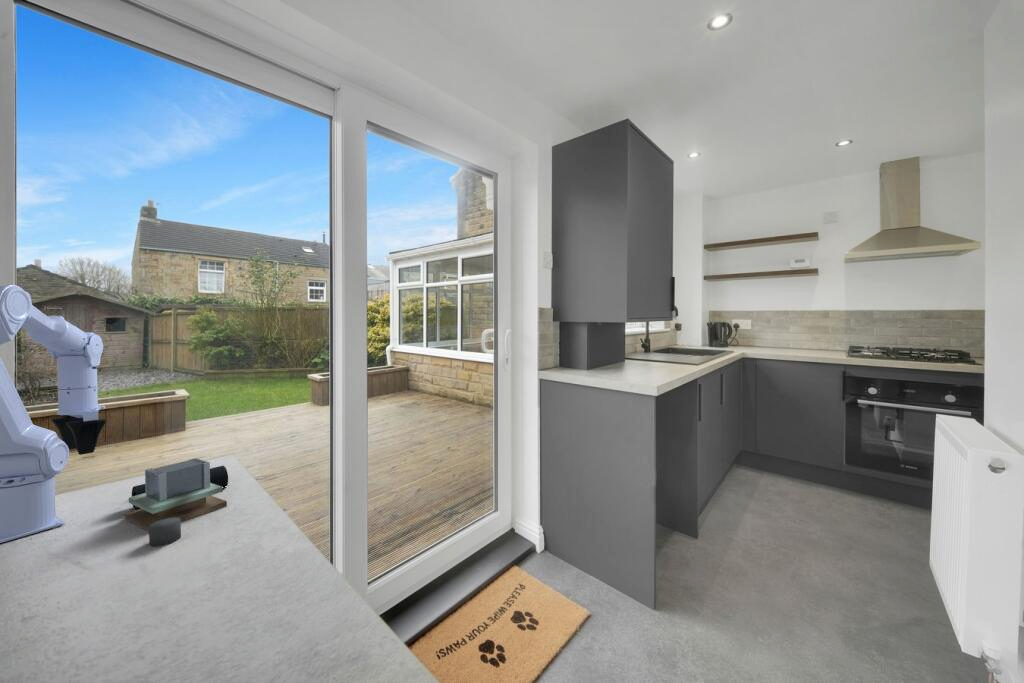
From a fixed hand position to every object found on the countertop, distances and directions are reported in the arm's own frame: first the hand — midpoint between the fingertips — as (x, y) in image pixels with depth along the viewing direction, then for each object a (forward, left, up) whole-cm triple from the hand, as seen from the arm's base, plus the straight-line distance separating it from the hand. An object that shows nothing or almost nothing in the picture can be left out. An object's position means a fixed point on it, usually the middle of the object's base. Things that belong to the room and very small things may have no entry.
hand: (79, 451), depth 84 cm
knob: (0, -39, -10) cm, 40 cm away
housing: (+6, -28, -6) cm, 29 cm away
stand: (+6, -28, -10) cm, 30 cm away
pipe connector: (+10, -17, -10) cm, 22 cm away
